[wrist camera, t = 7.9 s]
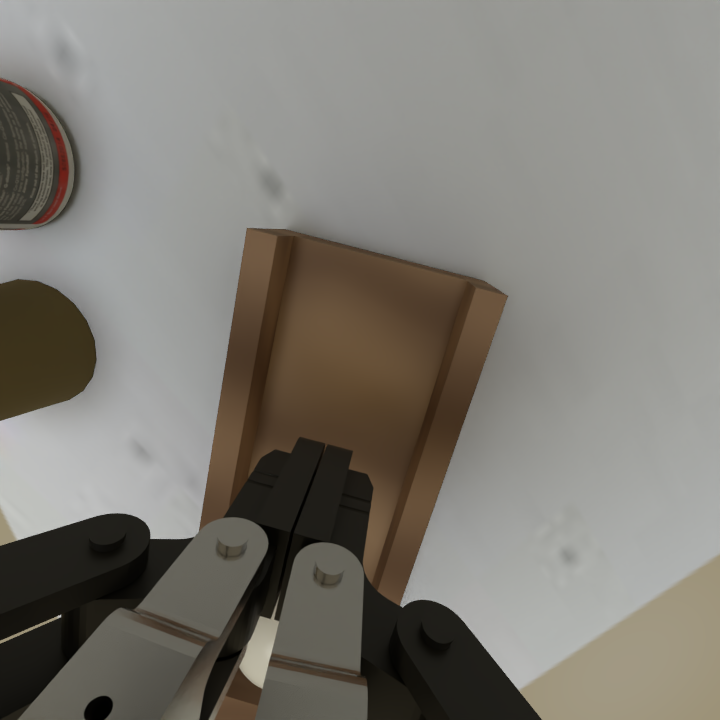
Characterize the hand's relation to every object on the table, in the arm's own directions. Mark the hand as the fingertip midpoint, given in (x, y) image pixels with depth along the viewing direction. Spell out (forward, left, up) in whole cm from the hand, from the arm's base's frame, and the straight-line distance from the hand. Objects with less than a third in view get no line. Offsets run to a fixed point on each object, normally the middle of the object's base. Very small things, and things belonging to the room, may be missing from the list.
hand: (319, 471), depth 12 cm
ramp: (+5, 0, -8) cm, 10 cm away
